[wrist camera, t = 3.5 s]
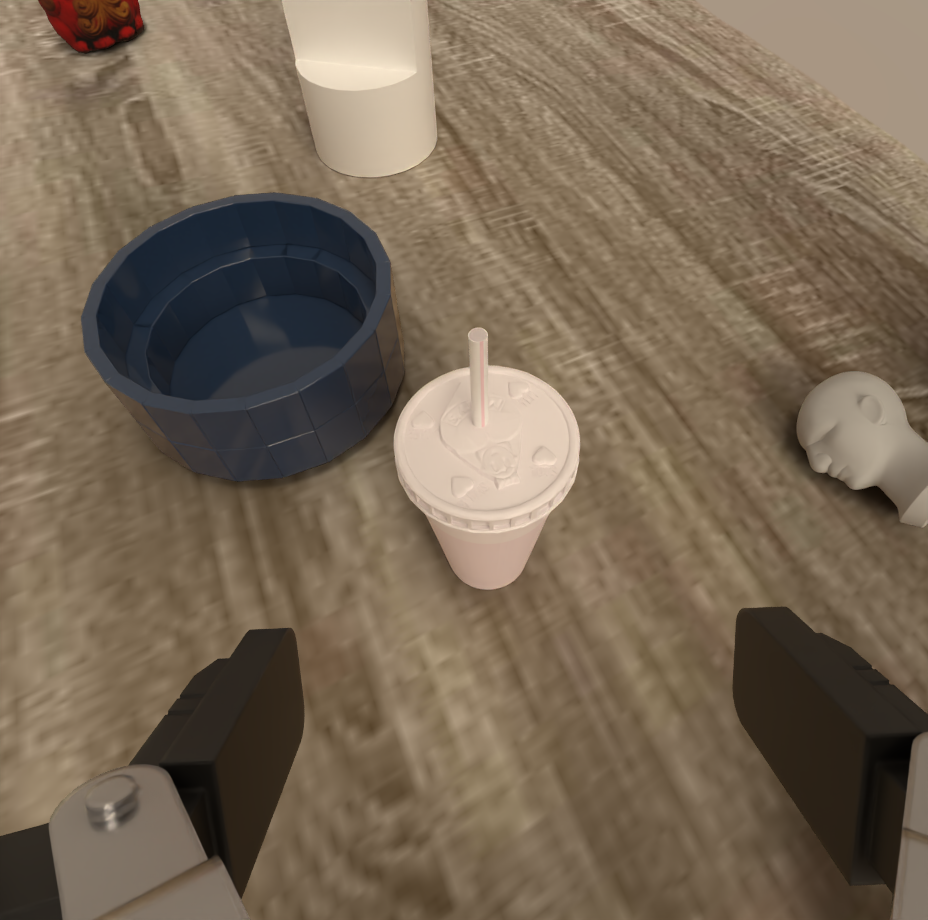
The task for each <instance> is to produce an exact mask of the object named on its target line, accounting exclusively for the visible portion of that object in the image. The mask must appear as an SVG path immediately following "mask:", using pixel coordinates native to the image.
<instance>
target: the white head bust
mask: <svg viewBox="0 0 928 920" xmlns="http://www.w3.org/2000/svg"><path fill="white" fill-rule="evenodd" d="M797 436H798V440H799V443H800V445H801V446H802V447H803V448H804V449H805V450H806V452H807V456H808V459H809V463H810V466H811V468H812V469H813V470H814V471H816V472H818V473H826V472H827V473H828V474H829V475H830V476H831V477H835V478H838V479H839V480H841V481H843V482H845V483H846V485H847V486H848V487H849V488H851V489H854V490H859V489H863V488H867V487H870V486H878V487H879V488H880V489H881V490H882V491H883V492H884V493H885V494H886V495H887V496H888V497H889V498H890V499H891V500H892V501H893V503H894V504H895V505H896V506H897V508H898V513H899V520H900V522H902V523H905V524H909V525H913V526H917V527H921V528H923V527H924V526H926V525H927V524H928V442H926V441H925V440H924V439H922V438H921V437H920V436H919V435H918V434H917V433H916V432H915V431H914V430H913V429H912V428H911V427H910V425H909V423H908V421H907V416H906V412H905V409H904V406H903V404H902V402H901V400H900V398H899V397H898V395H897V394H896V392H895V391H894V390H893V389H892V388H891V386H889V385H888V384H887V383H886V382H885V381H883V380H882V379H880V378H879V377H877V376H875V375H872V374H869V373H866V372H859V371H851V372H844V373H840V374H837V375H834V376H832V377H830V378H828V379H826V380H825V381H823V382H822V383H820V384H819V385H817V386H816V387H815V388H814V389H813V390H812V391H811V392H810V393H809V394H808V395H807V397H806V398H805V400H804V402H803V404H802V406H801V409H800V411H799V415H798V419H797Z"/></svg>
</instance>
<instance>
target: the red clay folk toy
mask: <svg viewBox="0 0 928 920" xmlns="http://www.w3.org/2000/svg"><path fill="white" fill-rule="evenodd" d="M38 1H39V3H40V5H41V6H42V8H43V9H44V10H45V12H46V14H47V17H48V19H49V21H50V23H51V24H52V26H53V28H54V29H55V31H56V32H57V34H58V35H60V36H61V37H62V38H63V39H64V40H66V42H67V43H68V44H69V45H70V46H71V47H72V48H74V49H75V50H76V51H78V52H82V53H87V52H90V51H91V50H92V51H96V50H100V49H106V48H108V47H110V46H112V45H114V43H115V42H120V41H129V40H132V39H133V38H135V37H136V36H137V35H139V34H140V33H141V32H142V31H143V30H144V25H143V21H142V18H141V14H140V7H139V2H138V0H38Z"/></svg>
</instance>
